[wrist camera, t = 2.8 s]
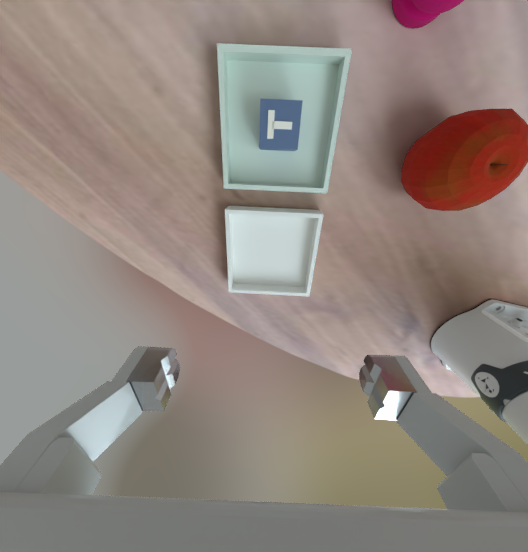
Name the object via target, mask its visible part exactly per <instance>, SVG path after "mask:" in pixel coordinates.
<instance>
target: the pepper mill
mask: <svg viewBox="0 0 528 552" xmlns="http://www.w3.org/2000/svg"><path fill="white" fill-rule="evenodd" d="M462 1H464V0H392V6H393V11H394V14H395V16H396V18H397V19H398V21H399V22H400V23H401V24H402V25H404V26H405V27H408V28H419V27H422V26H424V25H426V24H428V23H430V22H431V21H432V20H433V19H435V18H436V17H437V16H438V15H439V14H440V13H443V12H445V11H448V10H450V9H452V8H454V7H455V6H457V5H458V4H460V3H461V2H462Z"/></svg>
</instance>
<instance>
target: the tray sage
mask: <svg viewBox="0 0 528 552" xmlns="http://www.w3.org/2000/svg"><path fill="white" fill-rule="evenodd" d="M351 52H352V49H344V48H319V47H294V46H270V45H245V44H221V43H217V57H218V78H219V99H220V120H221V141H222V162H223V182H224V189H245V190H267V191H288V192H309V193H327V191H328V185H329V180H330V174H331V168H332V162H333V156H334V151H335V145H336V139H337V133H338V127H339V122H340V116H341V110H342V104H343V98H344V93H345V87H346V81H347V75H348V70H349V64H350V58H351ZM260 99H281V100H303V101H302V111H301V121H300V131H299V141H298V150H296V151H276V150H261V149H260V148H259V133H260Z"/></svg>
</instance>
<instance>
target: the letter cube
mask: <svg viewBox="0 0 528 552" xmlns="http://www.w3.org/2000/svg"><path fill="white" fill-rule="evenodd" d="M302 101H303V100H281V99H260V133H259V148H260V149H261V150H276V151H296V150H298V141H299V131H300V121H301V111H302Z"/></svg>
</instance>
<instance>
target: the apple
mask: <svg viewBox="0 0 528 552" xmlns="http://www.w3.org/2000/svg"><path fill="white" fill-rule="evenodd" d="M527 162H528V125H527V123H526V122H525V121H524V120H523V119H522V118H521V117H520V116H519V115H518V114H517V113H516V112H515V111H513V110H512V109H486V110H474V111H468V112H464V113H461V114H458V115H454V116H451V117H449V118H447V119H446V120H445V121H443V122H442V123H440V124H439V125H438V126H436V127H435V128H434V129H432V130H431V131H429V132H428V133H427V134H425V135H424V136H422V137H421V138H420V139H418V140H417V141H416V142H415V144H414V145H413V146H412V148H411V149H410V150H409V152H408V153H407V155H406V158H405V161H404V164H403V167H402V184H403V186H404V188H405V190H406V192H407V193H408V194H409V195H410V196H411V197H412V198H413V199H414V200H416V201H417V202H418V203H420V204H421V205H423V206H424V207H425V208H428V209H435V210H442V211H450V210H463V209H466V208H469V207H473V206H476V205H479V204H481V203H483V202H485V201H487V200H489V199H491V198H492V197H494V196H495V195H497V194H498V193H500V192H501V191H503V190H504V189H506V188H507V187H508V186H509V185H510V184H511V183H512V182H513V181H514V180H515V179H516V178H517V177H518V176H519V175H520V173H521V171H522V170H523V168H524V167H525V165H526V164H527Z"/></svg>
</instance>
